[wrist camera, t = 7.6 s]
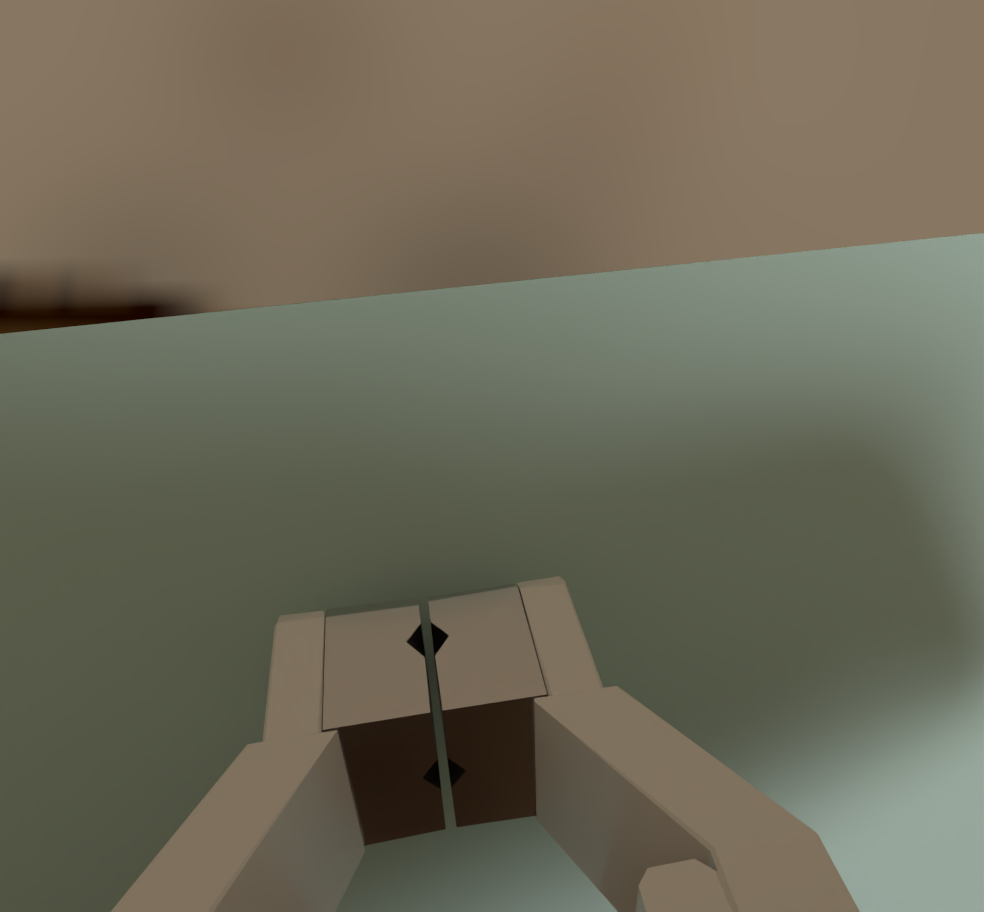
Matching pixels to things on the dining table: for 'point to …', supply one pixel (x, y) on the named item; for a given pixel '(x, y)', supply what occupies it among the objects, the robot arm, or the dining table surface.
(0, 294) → the dining table surface
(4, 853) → the panel
